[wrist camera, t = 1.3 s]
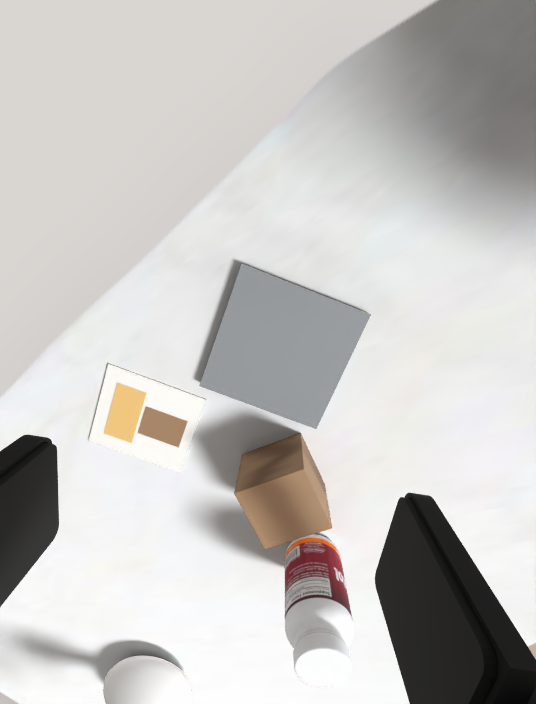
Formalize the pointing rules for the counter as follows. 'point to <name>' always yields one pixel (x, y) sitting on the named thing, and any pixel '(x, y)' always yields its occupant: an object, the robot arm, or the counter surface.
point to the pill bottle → (317, 611)
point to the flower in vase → (146, 682)
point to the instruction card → (145, 418)
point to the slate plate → (282, 346)
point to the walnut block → (282, 492)
